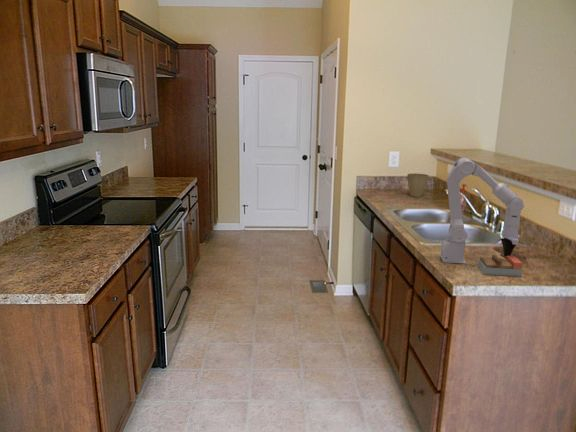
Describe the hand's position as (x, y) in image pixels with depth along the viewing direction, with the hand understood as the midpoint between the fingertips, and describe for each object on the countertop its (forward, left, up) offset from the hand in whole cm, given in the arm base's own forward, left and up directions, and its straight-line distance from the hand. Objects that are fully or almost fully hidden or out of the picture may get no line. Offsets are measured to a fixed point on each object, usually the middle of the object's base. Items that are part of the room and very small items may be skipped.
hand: (506, 256), depth 192 cm
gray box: (-6, -9, -4) cm, 12 cm away
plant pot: (-17, +146, -4) cm, 147 cm away
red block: (0, -9, -1) cm, 9 cm away
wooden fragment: (+7, +14, -4) cm, 16 cm away
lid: (-7, -9, -1) cm, 12 cm away
